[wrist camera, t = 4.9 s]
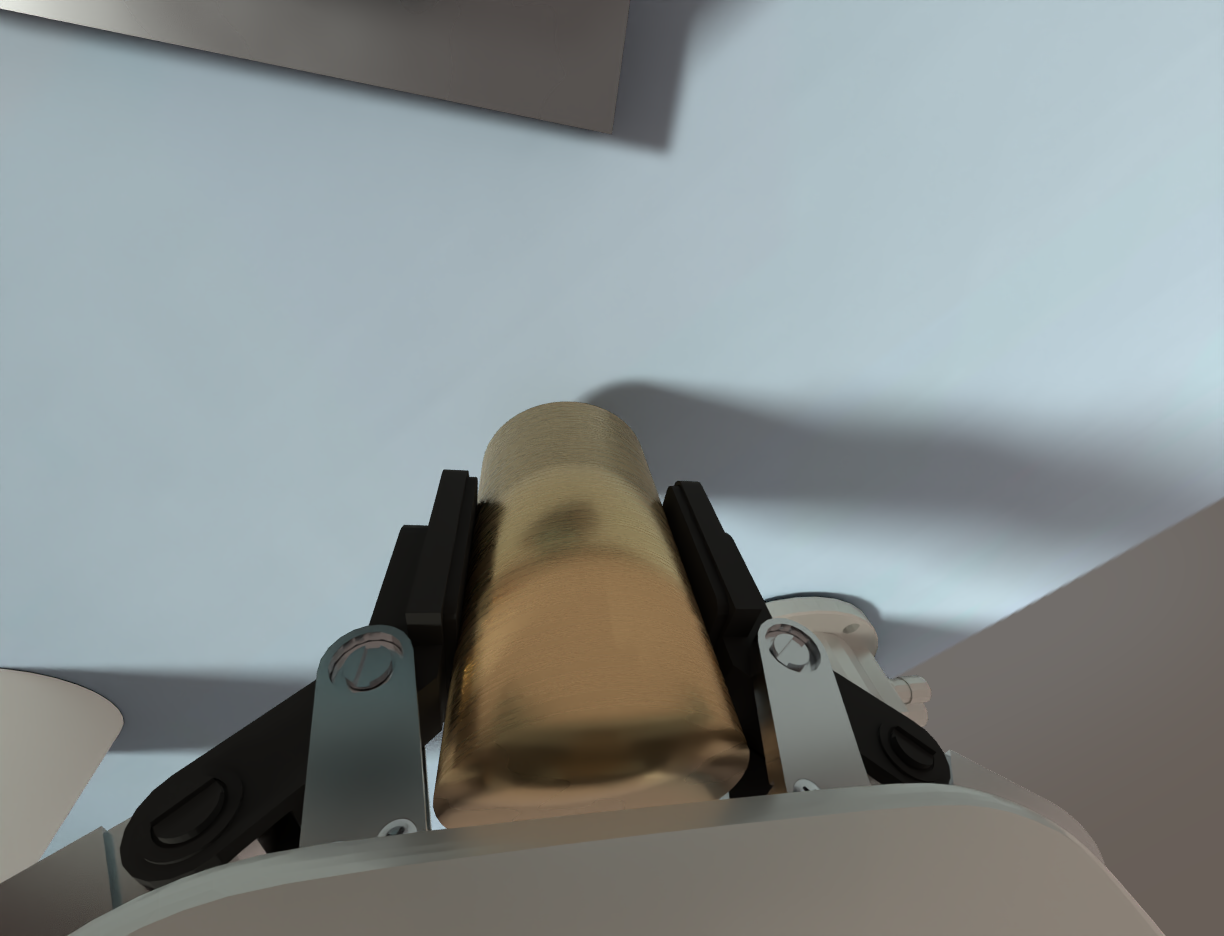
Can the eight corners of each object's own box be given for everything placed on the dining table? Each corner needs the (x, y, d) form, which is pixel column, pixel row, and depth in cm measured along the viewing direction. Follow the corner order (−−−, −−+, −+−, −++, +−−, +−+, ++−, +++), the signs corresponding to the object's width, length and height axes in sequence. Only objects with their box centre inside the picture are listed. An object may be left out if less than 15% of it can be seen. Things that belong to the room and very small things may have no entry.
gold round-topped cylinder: (659, 408, 13) (796, 698, 6) (628, 534, 15) (702, 833, 9) (482, 394, 12) (421, 720, 5) (481, 531, 14) (440, 864, 8)
